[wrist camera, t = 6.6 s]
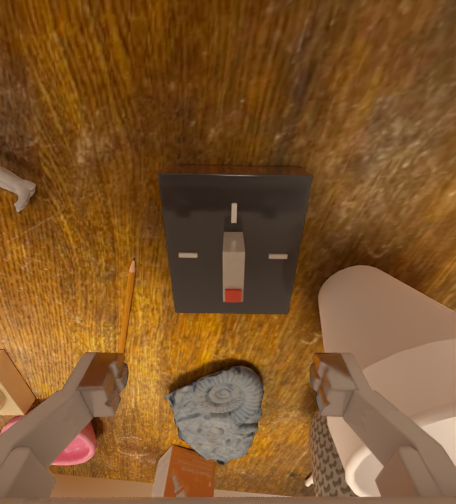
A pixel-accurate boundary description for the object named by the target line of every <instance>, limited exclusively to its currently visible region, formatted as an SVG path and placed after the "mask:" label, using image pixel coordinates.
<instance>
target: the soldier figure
mask: <svg viewBox="0 0 456 504" xmlns="http://www.w3.org/2000/svg"><path fill="white" fill-rule="evenodd" d="M0 187H1V188H4V189H6V190H9V191H11V192H13V193H16V194H17V195H18V201H17V202H16V203H15V204H14V206H15V207H16V210H17V211H18V212H19V211H21V210H23V209H24V208H25V207H26V206H27V204H28V203H29V199H30V197H31V196H33V195H34V193H35V188H36V184H35V183H33V182H31V181H28V180H23V179H22V178H20V177H18V176H17V175H15V174H14V173H12V172H11V171H9V170H8V169H6V168H4V167H2V166H0Z"/></svg>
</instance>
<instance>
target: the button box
mask: <svg viewBox="0 0 456 504" xmlns="http://www.w3.org/2000/svg"><path fill="white" fill-rule="evenodd" d="M35 399H36V398H35V396H34V395H33V393H32V392H31V390H30V389H29V387H28V386H27V384H26V383H25V381H24V379H23V378H22V376H21V375H20V373H19V372H18V370H17V369H16V367H15V366H14V364H13V363H12V361H11V360H10V358H9V357H8V355H7V354H6V352H5V351H4V350H0V415H25V414H26V412H27V411H28V410H29V408H30V407H31V405H32V404H33V402H34V401H35Z"/></svg>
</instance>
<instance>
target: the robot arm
mask: <svg viewBox="0 0 456 504" xmlns="http://www.w3.org/2000/svg"><path fill="white" fill-rule="evenodd" d="M124 359H125V357H124V354H123V353H101V352H86V353H85V354H84V355H82V357H81V358H80V360H79V362H78V363H77V365H76V367H75V368H74V370H73V372H72V373H71V375H70V377H69V378H68V380H67V382H66V383H65V385H64V387H63V388H62V390H60V391H56V392H55V393H54V394H52V395H51V396H50V397H49V398H47V399H46V400H45V401H43V402H42V403H41V404H39V405H38V406H37V407H36V408H34V409H33V410H32V411H30V412H29V413H28V414H27V415H25V416H24V417H23V418H21V419H20V420H19V421H18V422H16V423H15V424H14V425H12V426H11V427H10V428H8V429H7V430H6V431H5V432H3V433H2V434H1V435H0V504H456V466H455V465H454V463H453V462H452V460H451V459H450V457H449V456H448V454H447V453H446V451H445V449H444V448H443V446H442V445H441V444H440V443H438V442H437V441H436V440H435V439H434V438H432V437H431V436H430V435H429V434H428V433H426V432H425V431H424V430H423V429H422V428H420V427H419V426H418V425H417V424H415V423H414V422H413V421H412V420H411V419H409V418H408V417H407V416H406V415H405V414H403V413H402V412H401V411H400V410H399V409H397V408H396V407H395V406H394V405H393V404H391V403H390V402H389V401H388V400H387V399H385V398H384V397H383V396H382V395H381V394H379V393H378V392H377V391H373V390H372V389H371V387H370V385H369V383H368V382H367V380H366V378H365V376H364V374H363V372H362V370H361V368H360V367H359V365H358V363H357V361H356V359H355V357H354V355H353V354H352V353H338V352H329V353H315V354H314V355H313V361H314V363H313V364H311V366H310V381H311V385H312V388H313V389H314V390H315V391H316V392H317V393H318V394H317V397H316V401H317V404H318V407H319V410H320V414H321V416H332V417H343V419H344V421H345V422H346V423H347V424H348V425H349V426H350V428H351V429H352V430H353V431H354V432H355V433H356V435H357V436H358V437H359V438H360V439H361V440H362V442H363V443H364V444H365V445H366V446H367V448H368V449H369V450H370V451H371V452H372V453H373V455H374V456H375V457H376V458H377V459H378V460H379V462H380V463H381V464H382V465H383V466H384V467H383V468H382V470H381V471H380V472H379V474H378V475H377V477H376V479H375V482H376V485H377V487H378V490H379V492H380V495H381V497H85V498H83V497H76V498H75V497H74V498H73V497H71V498H70V497H67V498H66V497H65V498H64V497H61V498H57V497H55V498H49V496H50V494H51V492H52V490H53V488H54V485H55V483H56V478H55V476H54V475H53V474H52V473H51V471H50V470H49V469H48V467H49V466H50V465H51V464H52V463H53V462H54V460H55V459H56V458H57V457H58V456H59V455H60V454H61V453H62V452H63V451H64V449H65V448H66V447H67V446H68V445H69V444H70V443H71V442H72V441H73V440H74V439H75V437H76V436H77V435H78V434H79V433H80V432H81V431H82V430H83V429H84V428H85V427H86V425H87V424H88V423H89V422H90V421H91V420H92V419H93V417H108V416H115V413H116V411H117V408H118V405H119V403H120V400H121V398H120V395H119V393H120V392H121V391H122V390H123V389H125V386H126V383H127V380H128V374H129V373H128V366H127V364H125V363H124Z"/></svg>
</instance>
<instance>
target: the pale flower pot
mask: <svg viewBox="0 0 456 504" xmlns="http://www.w3.org/2000/svg"><path fill="white" fill-rule="evenodd" d="M318 303H319V312H320V320H321V329H322V337H323V346H324V353H329V352H338V353H352V354H353V355H354V357H355V359H356V361H357V363H358V365H359V367H360V368H361V370H362V372H363V374H364V376H365V378H366V380H367V382H368V383H369V385H370V387H371V389H372V390H373V391H377V392H378V393H379V394H381V395H382V396H383V397H384V398H385V399H387V400H388V401H389V402H390V403H391V404H393V405H394V406H395V407H396V408H397V409H399V410H400V411H401V412H402V413H403V414H405V415H406V416H407V417H408V418H409V419H411V420H412V421H413V422H414V423H415V424H417V425H418V426H419V427H420V428H422V429H423V430H424V431H425V432H426V433H428V434H429V435H430V436H431V437H432V438H434V439H435V440H436V441H437V442H438V443H440V444H441V445H442V446H443V448H444V449H445V451H446V453H447V454H448V456H449V457H450V459H451V460H452V462H453V463H454V465H455V466H456V312H455V311H453V310H451V309H449V308H447V307H446V306H444V305H442V304H440V303H439V302H437V301H435V300H433V299H431V298H430V297H428V296H426V295H424V294H422V293H421V292H419V291H417V290H415V289H413V288H412V287H410V286H408V285H406V284H404V283H403V282H401V281H399V280H397V279H395V278H394V277H392V276H390V275H388V274H386V273H385V272H383V271H381V270H379V269H378V268H375V267H371V266H366V265H357V266H352V267H347V268H345V269H342V270H340V271H338V272H336V273H335V274H333V275H332V276H330V277H329V278H328V279H327V280H326V281H325V282H324V284H323V285H322V287H321V289H320V291H319V295H318ZM327 424H328V428H329V431H330V433H331V436H332V438H333V441H334V444H335V446H336V449H337V452H338V454H339V457H340V460H341V462H342V465H343V468H344V470H345V481H346V482H347V484H348V485H349V487H350V488H351V489H352V491H353V492H354V493H355V494H356V495H358V496H359V497H381V495H380V492H379V490H378V487H377V485H376V482H375V479H376V477H377V475H378V474H379V472H380V471H381V470H382V468H383V467H384V466H383V465H382V464H381V463H380V462H379V460H378V459H377V458H376V457H375V456H374V455H373V453H372V452H371V451H370V450H369V449H368V448H367V446H366V445H365V444H364V443H363V442H362V440H361V439H360V438H359V437H358V436H357V435H356V433H355V432H354V431H353V430H352V429H351V428H350V426H349V425H348V424H347V423H346V422H345V421H344V419H343V417H332V416H327Z"/></svg>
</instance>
